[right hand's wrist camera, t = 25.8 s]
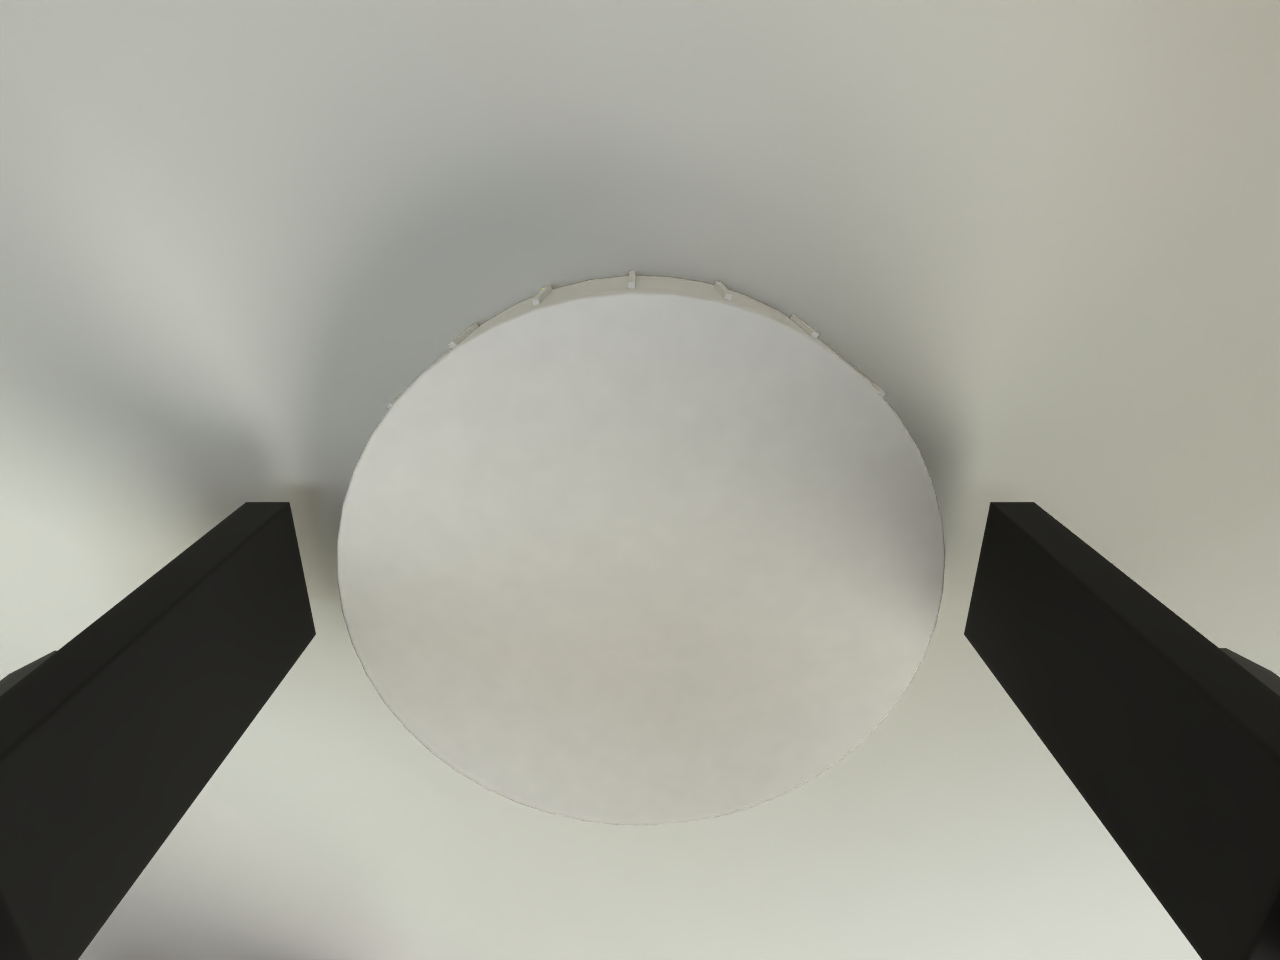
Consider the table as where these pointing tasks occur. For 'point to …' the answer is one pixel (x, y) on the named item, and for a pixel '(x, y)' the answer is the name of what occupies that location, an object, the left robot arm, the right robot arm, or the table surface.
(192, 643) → the right robot arm
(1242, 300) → the table surface
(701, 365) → the lid
